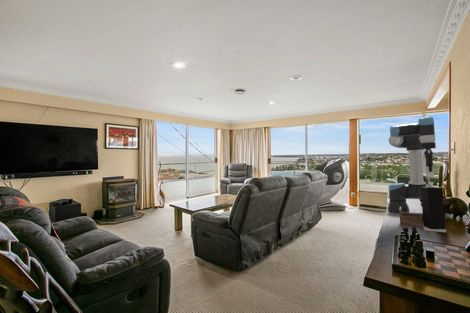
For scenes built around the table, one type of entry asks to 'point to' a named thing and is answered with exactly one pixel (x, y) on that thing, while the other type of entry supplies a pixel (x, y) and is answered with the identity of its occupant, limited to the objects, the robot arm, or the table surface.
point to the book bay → (410, 219)
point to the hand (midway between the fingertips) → (430, 176)
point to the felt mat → (434, 229)
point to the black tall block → (433, 207)
